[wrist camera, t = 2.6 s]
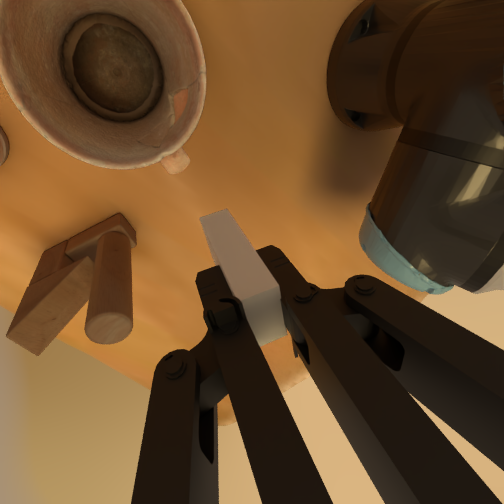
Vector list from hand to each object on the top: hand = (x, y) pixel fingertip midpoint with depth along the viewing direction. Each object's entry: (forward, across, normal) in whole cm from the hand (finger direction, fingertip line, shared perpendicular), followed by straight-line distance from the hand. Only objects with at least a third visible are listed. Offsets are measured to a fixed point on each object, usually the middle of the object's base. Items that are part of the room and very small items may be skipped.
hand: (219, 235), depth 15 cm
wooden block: (+24, +14, +9) cm, 29 cm away
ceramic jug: (+24, +3, -8) cm, 26 cm away
